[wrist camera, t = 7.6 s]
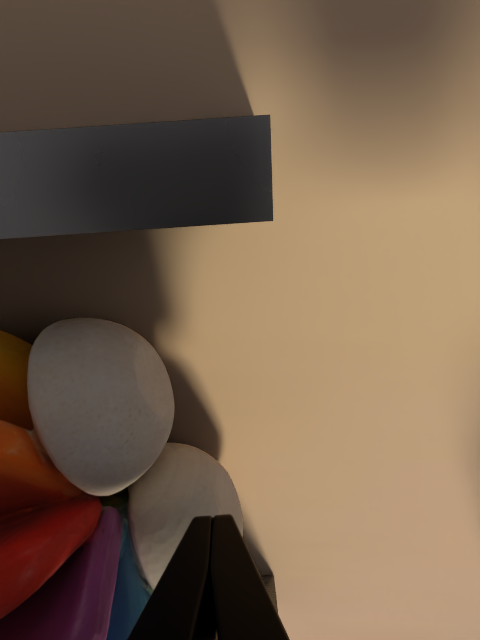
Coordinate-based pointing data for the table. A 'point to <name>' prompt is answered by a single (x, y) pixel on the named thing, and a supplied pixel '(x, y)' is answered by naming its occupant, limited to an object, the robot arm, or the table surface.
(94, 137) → the tray
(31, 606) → the multicolored petal rattle
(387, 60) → the table surface
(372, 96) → the table surface
